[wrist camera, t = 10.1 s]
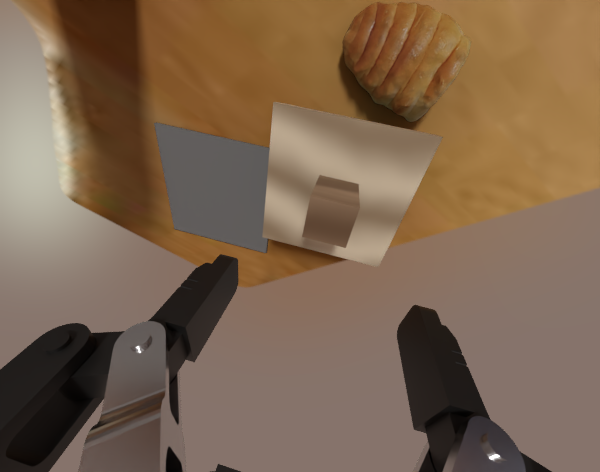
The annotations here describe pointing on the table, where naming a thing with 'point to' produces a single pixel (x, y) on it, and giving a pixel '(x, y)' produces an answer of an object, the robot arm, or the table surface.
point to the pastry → (405, 55)
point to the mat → (215, 185)
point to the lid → (341, 181)
